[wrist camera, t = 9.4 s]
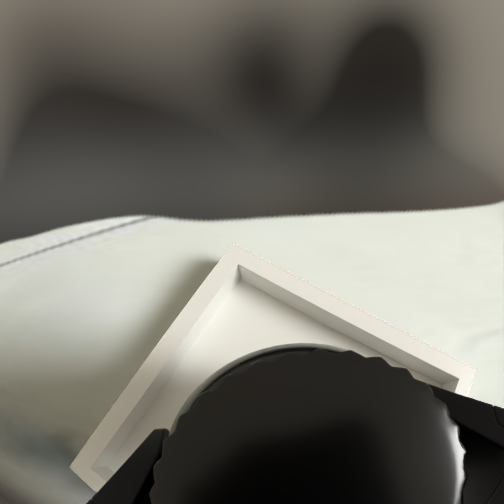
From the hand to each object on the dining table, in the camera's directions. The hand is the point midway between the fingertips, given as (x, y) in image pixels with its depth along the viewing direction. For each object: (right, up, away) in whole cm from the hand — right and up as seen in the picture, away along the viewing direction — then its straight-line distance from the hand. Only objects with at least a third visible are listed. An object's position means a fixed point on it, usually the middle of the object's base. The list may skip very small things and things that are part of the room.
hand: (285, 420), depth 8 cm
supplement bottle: (+1, -5, +5) cm, 7 cm away
